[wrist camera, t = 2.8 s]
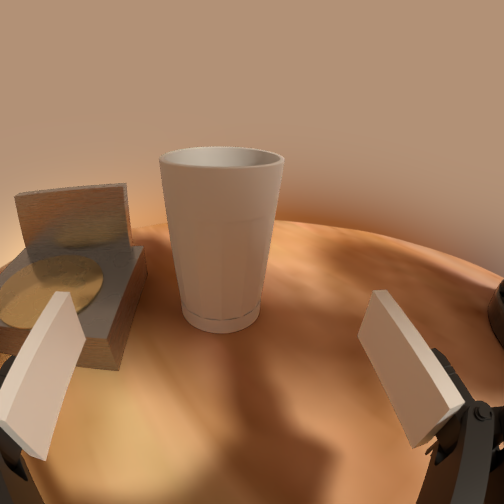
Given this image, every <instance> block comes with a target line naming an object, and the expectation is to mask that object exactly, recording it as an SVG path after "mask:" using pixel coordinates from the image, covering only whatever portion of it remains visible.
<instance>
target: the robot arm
mask: <svg viewBox="0 0 504 504" xmlns="http://www.w3.org/2000/svg"><path fill="white" fill-rule="evenodd" d="M488 317H489V321H490V324H491V326H492V329H493V331H494V333H495V334H496V336H497V338H498V339H499V341H500V342H501V344H502V345H503V346H504V279H503V281H502V282H501V283H500V284H499V286H498V287H497V289H496V291H495V293H494V295H493V297H492V299H491V301H490V303H489V306H488ZM357 337H358V339H359V341H360V343H361V344H362V346H363V348H364V350H365V352H366V354H367V356H368V358H369V360H370V362H371V364H372V366H373V368H374V370H375V372H376V374H377V376H378V378H379V380H380V382H381V384H382V386H383V388H384V390H385V392H386V394H387V396H388V398H389V400H390V402H391V404H392V406H393V408H394V410H395V412H396V414H397V417H398V419H399V421H400V423H401V425H402V427H403V429H404V432H405V434H406V436H407V438H408V440H409V443H410V445H411V447H412V449H413V448H416V447H418V446H421V445H423V444H426V443H428V442H429V441H430V440H431V439H432V438H433V437H434V436H435V435H436V437H437V439H438V440H437V441H436V442H435V443H434V444H433V445H432V446H431V447H430V448H429V449H427V451H426V453H425V455H427V454H429V453H430V452H431V451H432V450H433V452H432V454H431V455H430V456H431V459H430V463H429V466H428V469H427V473H426V476H425V479H424V482H423V485H422V488H421V491H420V494H419V497H418V499H417V502H416V504H504V448H503V449H502V450H500V449H499V445H500V444H501V443H502V442H504V406H501V407H490V406H489V405H488V404H487V403H485V402H483V401H475V400H474V399H473V398H472V396H471V394H470V393H469V391H468V390H467V388H466V387H465V385H464V384H463V382H462V381H461V379H460V378H459V376H458V375H457V374H456V373H455V370H454V369H453V367H452V366H451V364H450V363H449V361H448V360H447V358H446V357H445V356H444V355H443V354H442V353H441V352H439V351H438V350H437V349H436V348H433V349H430V348H429V346H428V345H427V343H426V342H425V341H424V339H423V338H422V336H421V335H420V334H419V332H418V331H417V329H416V328H415V327H414V325H413V324H412V322H411V321H410V320H409V318H408V317H407V316H406V314H405V313H404V312H403V310H402V309H401V308H400V306H399V305H398V304H397V302H396V301H395V300H394V298H393V297H392V296H391V295H390V293H389V292H388V291H387V290H373V291H372V294H371V297H370V300H369V303H368V306H367V309H366V312H365V315H364V318H363V321H362V324H361V327H360V329H359V332H358V335H357ZM85 341H86V338H85V335H84V333H83V330H82V327H81V324H80V322H79V319H78V316H77V313H76V310H75V307H74V304H73V301H72V298H71V295H70V292H59V291H56V292H55V293H54V295H53V296H52V298H51V299H50V301H49V302H48V304H47V305H46V307H45V309H44V310H43V312H42V313H41V315H40V317H39V318H38V320H37V321H36V323H35V325H34V326H33V328H32V330H31V332H30V333H29V335H28V337H27V339H26V340H25V342H24V344H23V346H22V347H21V349H20V351H19V353H18V355H17V356H13V355H12V356H11V357H10V358H9V359H8V360H7V361H5V362H4V363H3V365H2V367H1V369H0V504H45V503H44V501H43V499H42V498H41V496H40V494H39V492H38V490H37V487H36V485H35V483H34V481H33V479H32V477H31V474H30V472H29V470H28V468H27V465H26V463H25V460H24V458H23V457H22V455H21V450H22V449H23V450H24V451H25V452H26V453H27V454H29V455H30V456H32V457H35V458H38V459H41V460H44V461H46V458H47V454H48V450H49V446H50V443H51V439H52V435H53V432H54V428H55V425H56V422H57V418H58V415H59V412H60V409H61V406H62V403H63V400H64V397H65V394H66V391H67V388H68V385H69V382H70V379H71V377H72V374H73V371H74V369H75V366H76V363H77V361H78V358H79V356H80V353H81V350H82V348H83V345H84V343H85Z"/></svg>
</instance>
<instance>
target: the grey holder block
mask: <svg viewBox="0 0 504 504" xmlns="http://www.w3.org/2000/svg"><path fill="white" fill-rule="evenodd" d="M14 198H15V203H16V208H17V213H18V217H19V222H20V226H21V230H22V235H23V239H24V242H25V246H26V248H25V249H24V250H23V251H22V252H21V253H20V254H19V255H18V256H17V257H16V258H15V259H14V260H13V261H12V262H11V263H10V264H9V265H8V266H7V267H6V269H5V270H4V271H3V272H2V273H1V274H0V352H1V353H6V354H10V355H15V356H17V355H18V353H19V351H20V349H21V347H22V346H23V344H24V342H25V340H26V339H27V337H28V335H29V333H30V332H31V330H32V328H33V326H34V325H35V323H36V321H37V320H38V318H39V317H40V315H41V313H42V312H43V310H44V309H45V307H46V305H47V304H48V302H49V301H50V299H51V298H52V296H53V295H54V293H55V292H56V291H59V292H70V295H71V298H72V301H73V304H74V307H75V310H76V313H77V316H78V319H79V322H80V324H81V327H82V330H83V333H84V335H85V338H86V341H85V343H84V345H83V348H82V350H81V353H80V356H79V358H78V361H77V363H76V366H78V367H86V368H95V369H104V370H115V371H119V367H120V363H121V360H122V356H123V352H124V349H125V345H126V341H127V338H128V334H129V331H130V328H131V324H132V321H133V318H134V314H135V311H136V308H137V305H138V301H139V298H140V295H141V292H142V289H143V286H144V283H145V280H146V277H147V274H148V273H147V266H146V259H145V252H144V246H133V241H132V233H131V226H130V216H129V207H128V197H127V185H126V183H118V184H104V185H91V186H78V187H67V188H58V189H48V190H39V191H32V192H23V193H19V194H17V195H16V196H15V197H14Z"/></svg>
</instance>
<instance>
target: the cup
mask: <svg viewBox="0 0 504 504" xmlns="http://www.w3.org/2000/svg"><path fill="white" fill-rule="evenodd" d="M159 162H160V170H161V179H162V186H163V193H164V200H165V207H166V214H167V221H168V228H169V234H170V241H171V247H172V253H173V259H174V265H175V270H176V276H177V281H178V287H179V292H180V297H181V305H182V313H183V315H184V317H185V319H186V320H187V321H188V322H189V323H190V324H191V325H192V326H194V327H196V328H198V329H200V330H203V331H206V332H210V333H232V332H236V331H239V330H242V329H244V328H246V327H248V326H250V325H251V324H252V323H253V322H254V321H255V320H256V319H257V317H258V315H259V313H260V303H261V295H262V289H263V284H264V278H265V272H266V266H267V261H268V255H269V249H270V243H271V237H272V231H273V225H274V219H275V212H276V206H277V201H278V196H279V190H280V184H281V178H282V173H283V167H284V162H285V159H284V157H282V156H281V155H279V154H276V153H273V152H269V151H264V150H258V149H252V148H242V147H198V148H187V149H181V150H176V151H172V152H168V153H165V154H163V155H161V156H160V157H159Z"/></svg>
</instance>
